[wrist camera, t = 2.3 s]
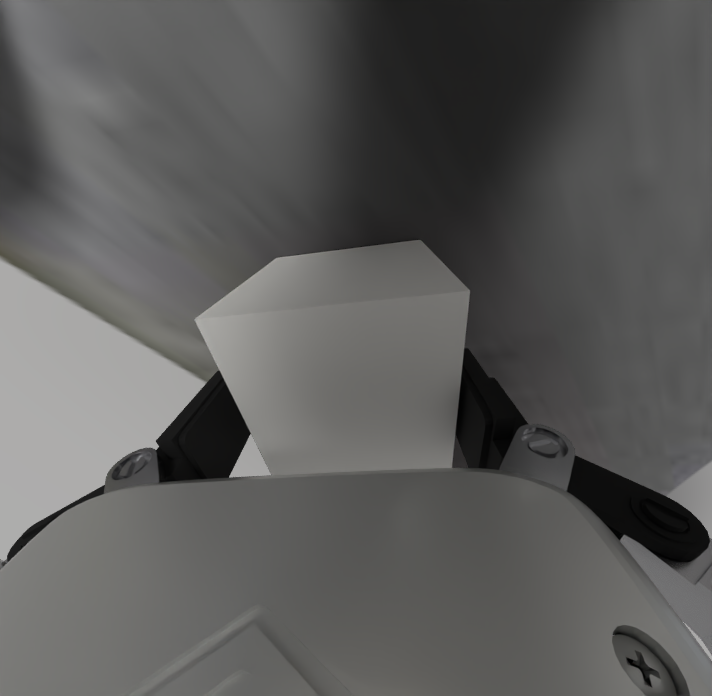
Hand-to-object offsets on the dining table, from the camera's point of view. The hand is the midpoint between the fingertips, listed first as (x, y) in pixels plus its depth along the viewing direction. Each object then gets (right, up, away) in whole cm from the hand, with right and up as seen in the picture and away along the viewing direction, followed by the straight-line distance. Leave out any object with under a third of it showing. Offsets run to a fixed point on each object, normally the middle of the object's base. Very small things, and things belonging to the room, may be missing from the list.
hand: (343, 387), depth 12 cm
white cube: (+1, +4, +4) cm, 6 cm away
